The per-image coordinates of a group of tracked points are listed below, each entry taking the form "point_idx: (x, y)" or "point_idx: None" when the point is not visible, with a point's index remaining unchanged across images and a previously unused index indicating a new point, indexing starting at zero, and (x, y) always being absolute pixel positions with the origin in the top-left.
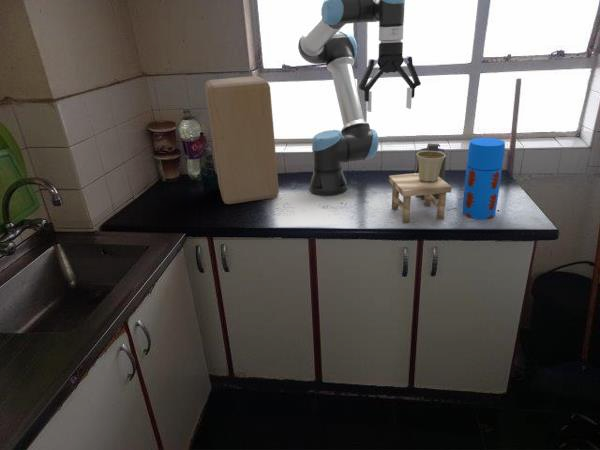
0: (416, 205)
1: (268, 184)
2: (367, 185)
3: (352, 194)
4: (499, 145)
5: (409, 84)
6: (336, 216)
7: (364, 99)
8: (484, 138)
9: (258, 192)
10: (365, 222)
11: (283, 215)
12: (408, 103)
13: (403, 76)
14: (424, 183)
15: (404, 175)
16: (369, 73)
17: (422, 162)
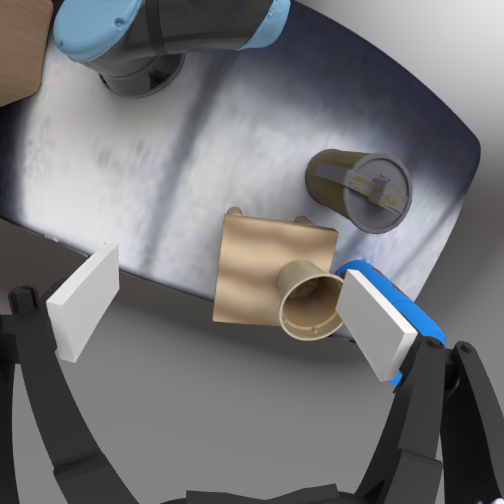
0: (282, 214)
1: (9, 96)
2: (237, 62)
3: (180, 103)
4: None
5: (397, 393)
6: (113, 211)
7: (56, 286)
8: (435, 335)
9: (3, 103)
10: (156, 254)
11: (35, 178)
12: (348, 314)
13: (372, 459)
14: (276, 297)
15: (262, 231)
16: (3, 467)
17: (283, 314)
